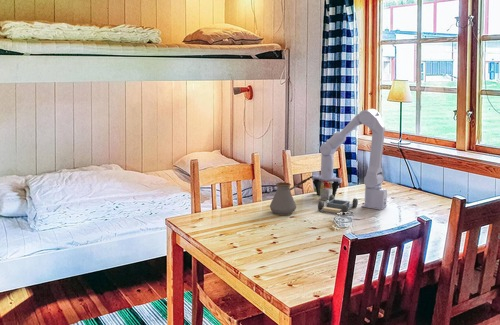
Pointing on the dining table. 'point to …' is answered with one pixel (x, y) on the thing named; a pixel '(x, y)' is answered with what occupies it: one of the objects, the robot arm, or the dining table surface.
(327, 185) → the bird rattle
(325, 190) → the block
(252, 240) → the dining table surface
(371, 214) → the dining table surface
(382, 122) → the robot arm
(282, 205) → the coffee pot
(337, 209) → the chassis
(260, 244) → the dining table surface
